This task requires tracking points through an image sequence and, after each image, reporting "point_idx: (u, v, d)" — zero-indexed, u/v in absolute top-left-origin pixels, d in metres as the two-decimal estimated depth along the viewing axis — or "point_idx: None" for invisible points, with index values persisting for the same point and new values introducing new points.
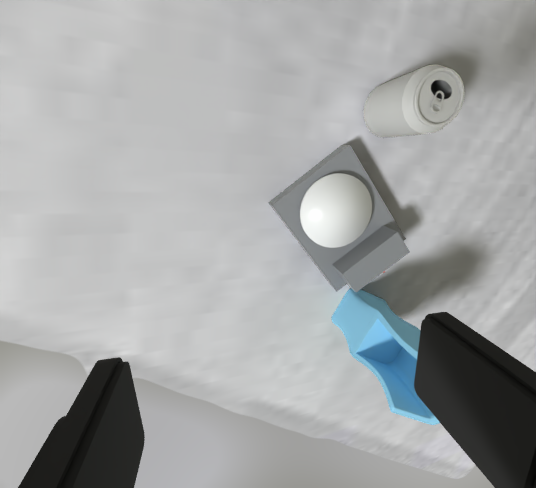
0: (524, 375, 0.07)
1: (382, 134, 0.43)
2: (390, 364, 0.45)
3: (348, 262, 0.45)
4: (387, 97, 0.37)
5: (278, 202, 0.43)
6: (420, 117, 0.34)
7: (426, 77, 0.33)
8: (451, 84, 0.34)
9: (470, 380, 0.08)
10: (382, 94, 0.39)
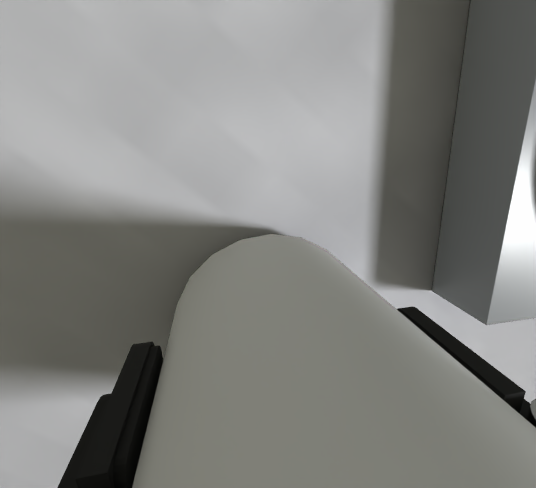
0: (475, 364, 0.07)
1: None
2: None
3: None
4: None
5: None
6: None
7: None
8: None
9: None
10: None
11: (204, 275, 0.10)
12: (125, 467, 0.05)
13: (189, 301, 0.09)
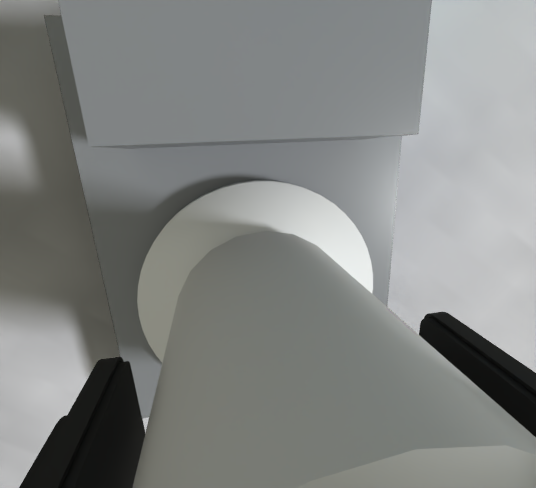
0: (522, 375, 0.07)
1: None
2: None
3: (345, 138, 0.11)
4: None
5: None
6: None
7: None
8: None
9: None
10: None
11: (203, 267, 0.11)
12: None
13: (190, 291, 0.10)
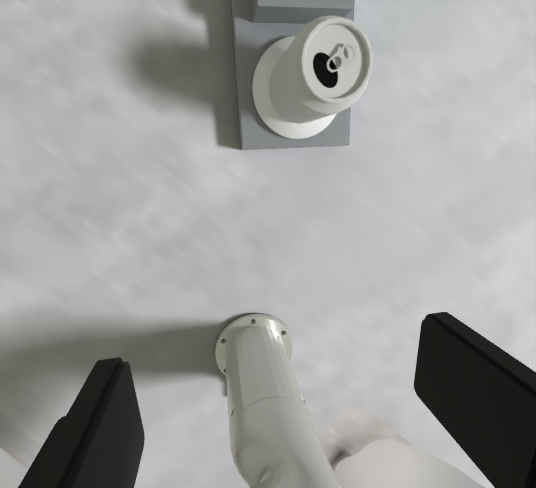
0: (524, 375, 0.07)
1: (334, 66, 0.33)
2: None
3: (330, 14, 0.32)
4: None
5: (341, 143, 0.39)
6: (371, 56, 0.25)
7: (341, 99, 0.25)
8: (310, 67, 0.24)
9: (470, 380, 0.08)
10: None
11: None
12: None
13: (281, 58, 0.31)
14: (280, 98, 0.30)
